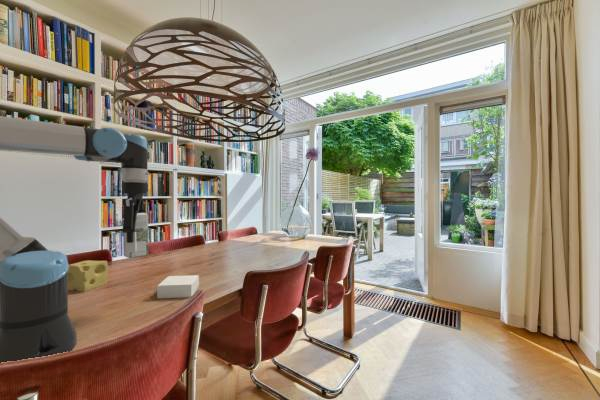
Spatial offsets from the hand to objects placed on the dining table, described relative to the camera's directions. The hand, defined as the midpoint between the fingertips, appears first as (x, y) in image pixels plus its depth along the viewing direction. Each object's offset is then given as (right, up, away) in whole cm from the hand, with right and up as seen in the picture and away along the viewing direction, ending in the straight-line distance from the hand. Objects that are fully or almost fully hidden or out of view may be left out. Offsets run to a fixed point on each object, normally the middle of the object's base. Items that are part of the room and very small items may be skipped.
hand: (135, 249), depth 91 cm
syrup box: (0, -2, 0) cm, 2 cm away
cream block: (+8, -20, +15) cm, 26 cm away
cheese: (-32, -19, +20) cm, 42 cm away
